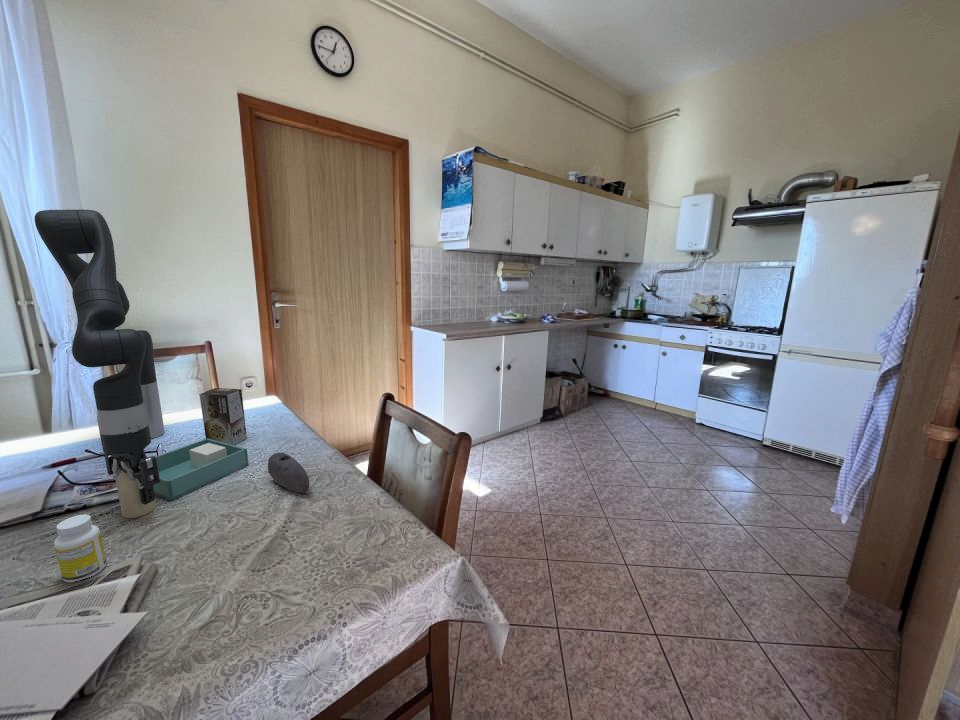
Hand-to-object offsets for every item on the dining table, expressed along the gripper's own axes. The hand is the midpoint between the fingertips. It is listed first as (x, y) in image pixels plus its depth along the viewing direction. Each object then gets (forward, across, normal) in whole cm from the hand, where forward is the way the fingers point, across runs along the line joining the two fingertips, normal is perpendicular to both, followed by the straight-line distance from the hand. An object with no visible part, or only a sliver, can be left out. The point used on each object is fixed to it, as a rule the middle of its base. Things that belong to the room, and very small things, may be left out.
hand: (136, 497), depth 83 cm
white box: (+3, -6, +19) cm, 20 cm away
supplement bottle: (+4, +12, -14) cm, 19 cm away
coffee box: (+3, -18, +32) cm, 37 cm away
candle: (+3, 0, 0) cm, 3 cm away
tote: (+3, -6, +15) cm, 16 cm away
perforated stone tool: (+4, +21, +21) cm, 30 cm away
